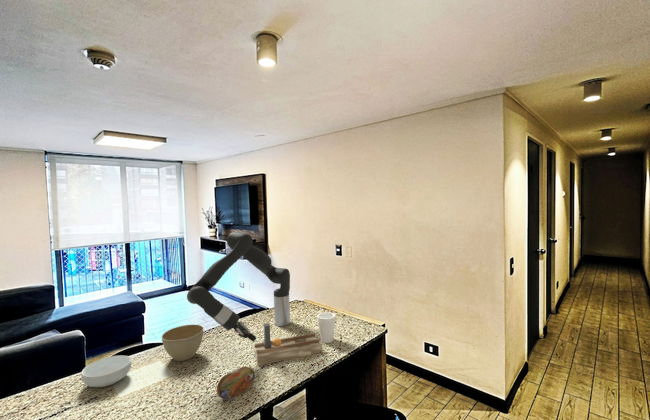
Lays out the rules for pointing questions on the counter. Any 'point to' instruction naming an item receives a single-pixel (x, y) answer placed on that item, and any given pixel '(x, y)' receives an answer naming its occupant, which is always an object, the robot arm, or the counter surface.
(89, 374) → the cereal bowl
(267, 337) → the plunger
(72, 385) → the counter surface
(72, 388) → the counter surface
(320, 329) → the foam cup
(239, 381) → the tin
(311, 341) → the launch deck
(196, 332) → the deep beige bowl
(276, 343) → the ball
